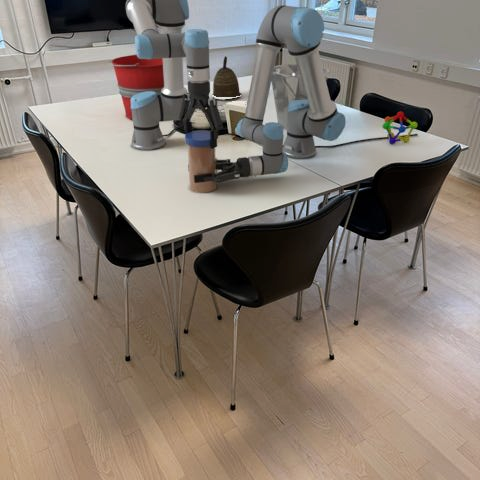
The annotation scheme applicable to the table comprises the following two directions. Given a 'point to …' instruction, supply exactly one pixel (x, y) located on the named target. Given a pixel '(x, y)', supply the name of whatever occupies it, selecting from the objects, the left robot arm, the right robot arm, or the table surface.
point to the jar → (201, 167)
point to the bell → (225, 82)
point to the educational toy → (398, 128)
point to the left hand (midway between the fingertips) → (201, 143)
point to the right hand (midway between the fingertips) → (191, 173)
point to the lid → (198, 138)
